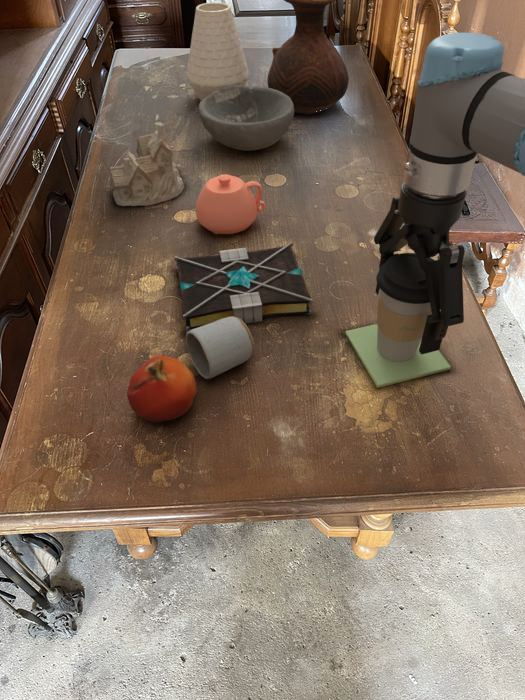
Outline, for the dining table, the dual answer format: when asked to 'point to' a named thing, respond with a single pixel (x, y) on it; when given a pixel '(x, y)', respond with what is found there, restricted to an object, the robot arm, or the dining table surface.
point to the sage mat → (389, 370)
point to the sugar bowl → (228, 204)
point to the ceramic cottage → (147, 172)
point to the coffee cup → (401, 306)
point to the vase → (215, 51)
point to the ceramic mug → (219, 346)
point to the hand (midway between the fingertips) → (405, 319)
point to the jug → (309, 62)
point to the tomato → (161, 389)
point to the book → (242, 286)
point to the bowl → (246, 116)
